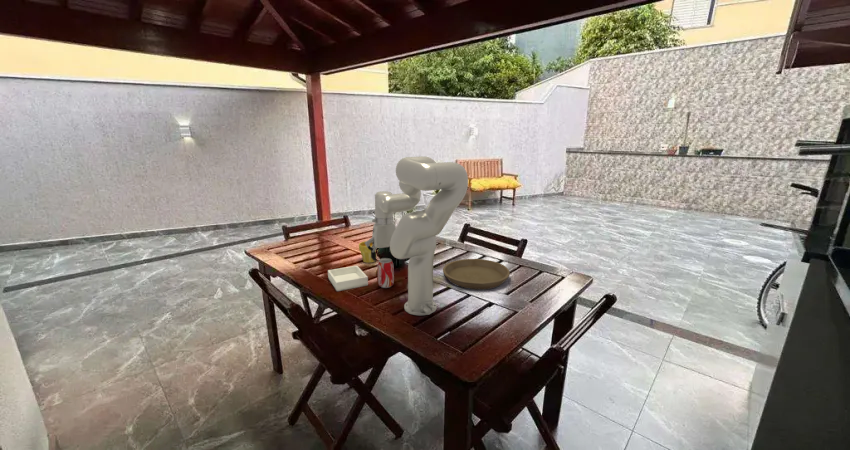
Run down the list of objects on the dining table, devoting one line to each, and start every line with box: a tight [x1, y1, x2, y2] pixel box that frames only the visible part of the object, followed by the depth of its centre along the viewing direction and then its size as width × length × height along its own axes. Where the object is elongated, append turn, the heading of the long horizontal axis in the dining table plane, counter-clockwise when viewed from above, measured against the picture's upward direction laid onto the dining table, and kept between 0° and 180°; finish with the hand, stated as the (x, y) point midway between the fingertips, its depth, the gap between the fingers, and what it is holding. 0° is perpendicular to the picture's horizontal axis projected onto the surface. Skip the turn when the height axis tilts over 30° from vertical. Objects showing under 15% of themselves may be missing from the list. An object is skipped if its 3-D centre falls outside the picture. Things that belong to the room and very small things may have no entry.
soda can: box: [377, 257, 395, 289], centre depth 155 cm, size 7×7×12 cm
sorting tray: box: [327, 265, 369, 292], centre depth 160 cm, size 16×14×4 cm
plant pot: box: [358, 240, 378, 264], centre depth 187 cm, size 10×10×10 cm
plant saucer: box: [442, 258, 511, 290], centre depth 166 cm, size 31×31×5 cm
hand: (384, 258), depth 154 cm, fingers open, 9 cm apart
